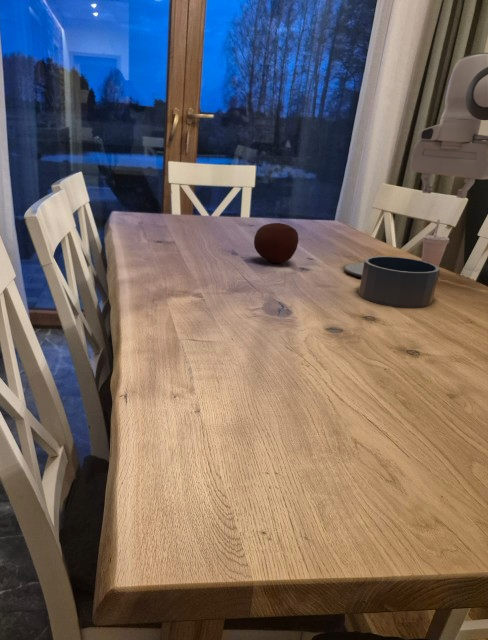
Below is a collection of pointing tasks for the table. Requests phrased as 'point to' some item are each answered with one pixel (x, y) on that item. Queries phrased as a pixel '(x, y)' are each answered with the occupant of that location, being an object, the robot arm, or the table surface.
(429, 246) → the smoothie
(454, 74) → the robot arm
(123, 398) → the table surface
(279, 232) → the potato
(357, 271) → the lid
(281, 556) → the table surface
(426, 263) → the pot
